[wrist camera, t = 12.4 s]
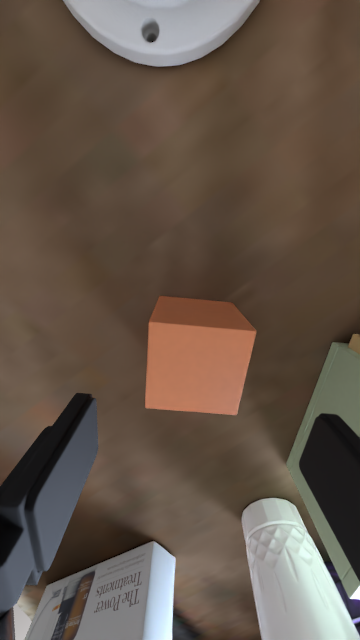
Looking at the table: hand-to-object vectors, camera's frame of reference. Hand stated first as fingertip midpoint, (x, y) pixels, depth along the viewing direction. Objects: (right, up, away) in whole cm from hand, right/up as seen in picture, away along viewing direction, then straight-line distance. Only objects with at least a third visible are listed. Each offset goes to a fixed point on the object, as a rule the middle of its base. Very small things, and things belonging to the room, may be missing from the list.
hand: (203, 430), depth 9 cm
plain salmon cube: (0, +4, +8) cm, 9 cm away
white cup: (+10, -19, +17) cm, 27 cm away
